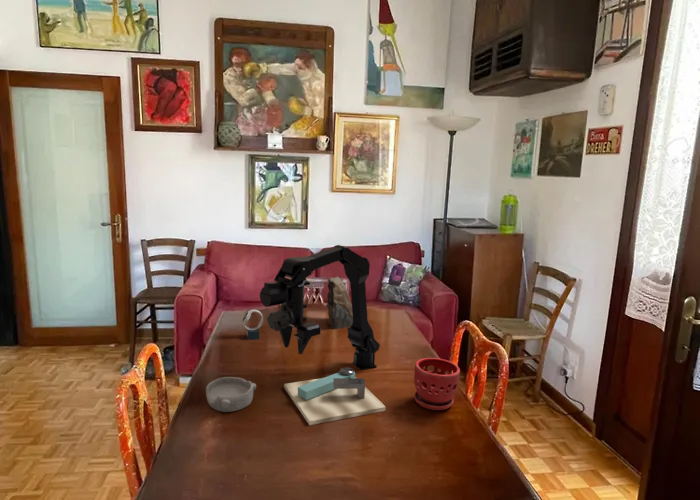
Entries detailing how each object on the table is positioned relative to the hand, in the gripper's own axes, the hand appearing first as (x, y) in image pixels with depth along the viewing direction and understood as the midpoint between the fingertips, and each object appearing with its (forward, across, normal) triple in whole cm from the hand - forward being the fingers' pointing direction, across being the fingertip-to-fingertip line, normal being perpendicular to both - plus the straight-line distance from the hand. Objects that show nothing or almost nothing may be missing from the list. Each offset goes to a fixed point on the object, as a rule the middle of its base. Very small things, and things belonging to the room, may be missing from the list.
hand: (293, 350), depth 152 cm
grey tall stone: (+13, -37, +54) cm, 67 cm away
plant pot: (+13, +33, +28) cm, 45 cm away
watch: (+13, -48, +16) cm, 52 cm away
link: (+11, +8, +8) cm, 16 cm away
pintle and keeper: (+12, +11, +12) cm, 20 cm away
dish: (+14, -6, -18) cm, 23 cm away
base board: (+13, +12, +6) cm, 19 cm away
